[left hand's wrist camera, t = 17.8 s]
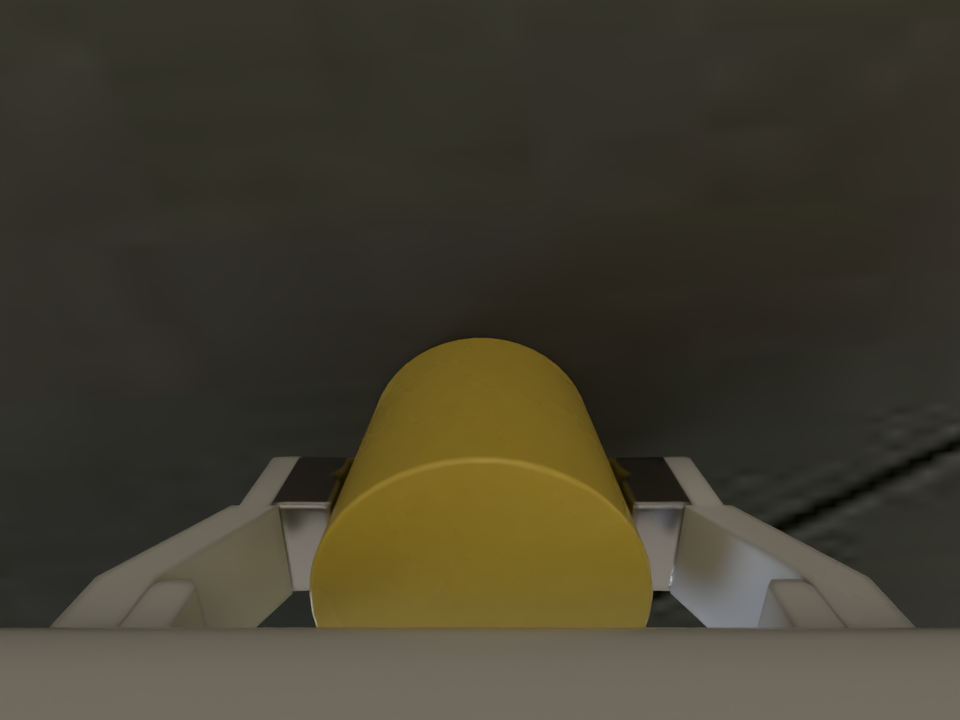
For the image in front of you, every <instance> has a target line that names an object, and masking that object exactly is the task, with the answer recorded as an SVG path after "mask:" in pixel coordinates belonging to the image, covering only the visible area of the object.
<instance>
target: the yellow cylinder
mask: <svg viewBox="0 0 960 720" xmlns="http://www.w3.org/2000/svg"><path fill="white" fill-rule="evenodd" d="M309 595H310V602H311V609H312V615H313V618H314V621H315V624H316V627H317V628H646V625H647V622H648V619H649V616H650V610H651V604H652V598H653V577H652V572H651V566H650V561H649V558H648V555H647V552H646V550H645V547H644V544H643V542H642V539H641V537H640V535H639V532H638V530H637V528H636V525H635V523H634V521H633V518H632V516H631V513H630V511H629V509H628V506H627V504H626V502H625V499H624V497H623V495H622V492H621V490H620V487H619V485H618V483H617V480H616V478H615V476H614V473H613V471H612V469H611V466H610V464H609V461H608V459H607V457H606V454H605V452H604V450H603V447H602V445H601V443H600V440H599V438H598V435H597V433H596V431H595V428H594V426H593V424H592V421H591V419H590V417H589V414H588V412H587V409H586V407H585V405H584V402H583V400H582V398H581V396H580V394H579V392H578V390H577V388H576V387H575V385H574V384H573V382H572V381H571V380H570V379H569V377H568V376H567V375H566V374H565V373H564V372H563V371H562V370H561V369H560V368H559V367H558V366H557V365H556V364H555V363H553V362H552V361H551V360H549V359H548V358H547V357H545V356H544V355H542V354H540V353H538V352H537V351H535V350H533V349H531V348H528V347H526V346H523V345H521V344H518V343H514V342H510V341H506V340H500V339H493V338H470V339H461V340H456V341H452V342H448V343H444V344H441V345H439V346H436V347H434V348H431V349H429V350H427V351H425V352H424V353H422V354H420V355H418V356H417V357H415V358H414V359H412V360H411V361H410V362H408V363H407V364H406V365H405V366H404V367H403V368H402V369H401V370H399V371H398V372H397V373H396V374H395V376H394V377H393V378H392V380H391V381H390V382H389V383H388V385H387V386H386V388H385V390H384V392H383V393H382V395H381V397H380V400H379V402H378V404H377V407H376V409H375V412H374V414H373V416H372V419H371V421H370V424H369V426H368V428H367V431H366V433H365V435H364V438H363V440H362V443H361V445H360V447H359V450H358V452H357V455H356V457H355V459H354V462H353V464H352V466H351V469H350V471H349V474H348V476H347V478H346V481H345V483H344V486H343V488H342V490H341V493H340V495H339V497H338V500H337V502H336V505H335V507H334V509H333V512H332V514H331V517H330V519H329V521H328V524H327V526H326V528H325V531H324V533H323V536H322V538H321V540H320V543H319V545H318V548H317V551H316V553H315V556H314V558H313V563H312V568H311V573H310V589H309Z"/></svg>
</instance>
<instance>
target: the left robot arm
mask: <svg viewBox="0 0 960 720" xmlns="http://www.w3.org/2000/svg"><path fill="white" fill-rule="evenodd" d="M608 461H609V464H610V466H611V469H612V471H613V473H614V476H615V478H616V480H617V483H618V485H619V487H620V490H621V492H622V495H623V497H624V499H625V502H626V504H627V506H628V509H629V511H630V513H631V516H632V518H633V521H634V523H635V525H636V528H637V530H638V532H639V535H640V537H641V539H642V542H643V544H644V547H645V550H646V552H647V555H648V558H649V561H650V566H651V572H652V577H653V590H655V591H671V592H670V593H671V594H672V595H673V596H674V597H675V598H676V599H677V600H678V601H679V602H681V603H682V604H683V605H684V606H685V607H686V608H687V609H688V610H689V611H690V612H691V613H692V614H694V615H695V616H696V617H697V618H698V619H699V620H700V621H701V622H702V623H703V624H704V625H705V626H706V627H708V628H256V627H257V626H258V625H259V624H260V623H261V622H262V621H264V620H265V619H266V618H267V617H268V616H269V615H270V614H271V613H272V612H273V611H274V610H275V609H276V608H278V607H279V606H280V605H281V604H282V603H283V602H284V601H285V600H286V599H287V598H288V597H289V596H290V595H292V591H308V590H309V589H310V573H311V568H312V563H313V558H314V556H315V553H316V551H317V548H318V545H319V543H320V540H321V538H322V536H323V533H324V531H325V528H326V526H327V524H328V521H329V519H330V517H331V514H332V512H333V509H334V507H335V505H336V502H337V500H338V497H339V495H340V493H341V490H342V488H343V486H344V483H345V481H346V478H347V476H348V474H349V471H350V469H351V466H352V464H353V462H354V459H353V458H346V457H300V456H287V457H275V458H273V459H272V460H271V461H270V463H269V464H268V465H267V467H266V468H265V470H264V471H263V472H262V474H261V475H260V477H259V478H258V480H257V481H256V482H255V484H254V485H253V487H252V488H251V490H250V491H249V492H248V494H247V495H246V497H245V498H244V499H243V501H242V502H241V504H240V505H236V506H229V507H227V508H226V509H224V510H222V511H220V512H218V513H216V514H214V515H212V516H210V517H209V518H207V519H205V520H203V521H201V522H199V523H197V524H195V525H193V526H191V527H190V528H188V529H186V530H184V531H182V532H180V533H178V534H176V535H174V536H173V537H171V538H169V539H167V540H165V541H163V542H161V543H159V544H157V545H155V546H154V547H152V548H150V549H148V550H146V551H144V552H142V553H140V554H138V555H136V556H135V557H133V558H131V559H129V560H127V561H125V562H123V563H121V564H119V565H118V566H116V567H114V568H112V569H110V570H108V571H106V572H104V573H102V574H100V575H99V576H97V577H95V578H94V580H93V581H92V582H91V583H90V584H89V585H88V586H87V587H86V588H85V589H84V590H83V591H82V592H81V594H80V595H79V596H78V597H77V598H76V599H75V600H74V601H73V602H72V603H71V604H70V605H69V607H68V608H67V609H66V610H65V611H64V612H63V613H62V614H61V615H60V616H59V617H58V618H57V620H56V621H55V622H54V623H53V624H52V625H51V626H50V627H0V720H960V628H916V627H915V626H914V625H913V624H912V623H911V622H910V621H909V620H908V619H907V618H906V617H905V616H904V614H903V613H902V612H901V611H900V610H899V609H898V608H897V607H896V606H895V605H894V604H893V603H892V602H891V600H890V599H889V598H888V597H887V596H886V595H885V594H884V593H883V592H882V591H881V590H880V589H879V588H878V586H877V585H876V584H875V583H874V582H873V581H872V580H871V579H870V578H869V577H867V576H865V575H863V574H861V573H859V572H858V571H856V570H854V569H852V568H850V567H848V566H846V565H844V564H842V563H840V562H839V561H837V560H835V559H833V558H831V557H829V556H827V555H825V554H823V553H821V552H820V551H818V550H816V549H814V548H812V547H810V546H808V545H806V544H804V543H802V542H801V541H799V540H797V539H795V538H793V537H791V536H789V535H787V534H785V533H783V532H782V531H780V530H778V529H776V528H774V527H772V526H770V525H768V524H766V523H764V522H763V521H761V520H759V519H757V518H755V517H753V516H751V515H749V514H747V513H745V512H744V511H742V510H740V509H738V508H736V507H734V506H728V505H723V503H722V502H721V501H720V499H719V498H718V496H717V495H716V494H715V492H714V491H713V489H712V488H711V487H710V485H709V484H708V482H707V481H706V480H705V478H704V477H703V476H702V474H701V473H700V471H699V470H698V469H697V467H696V466H695V464H694V463H693V462H692V460H691V459H690V458H688V457H686V456H675V457H643V458H610V459H609V460H608Z"/></svg>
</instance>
